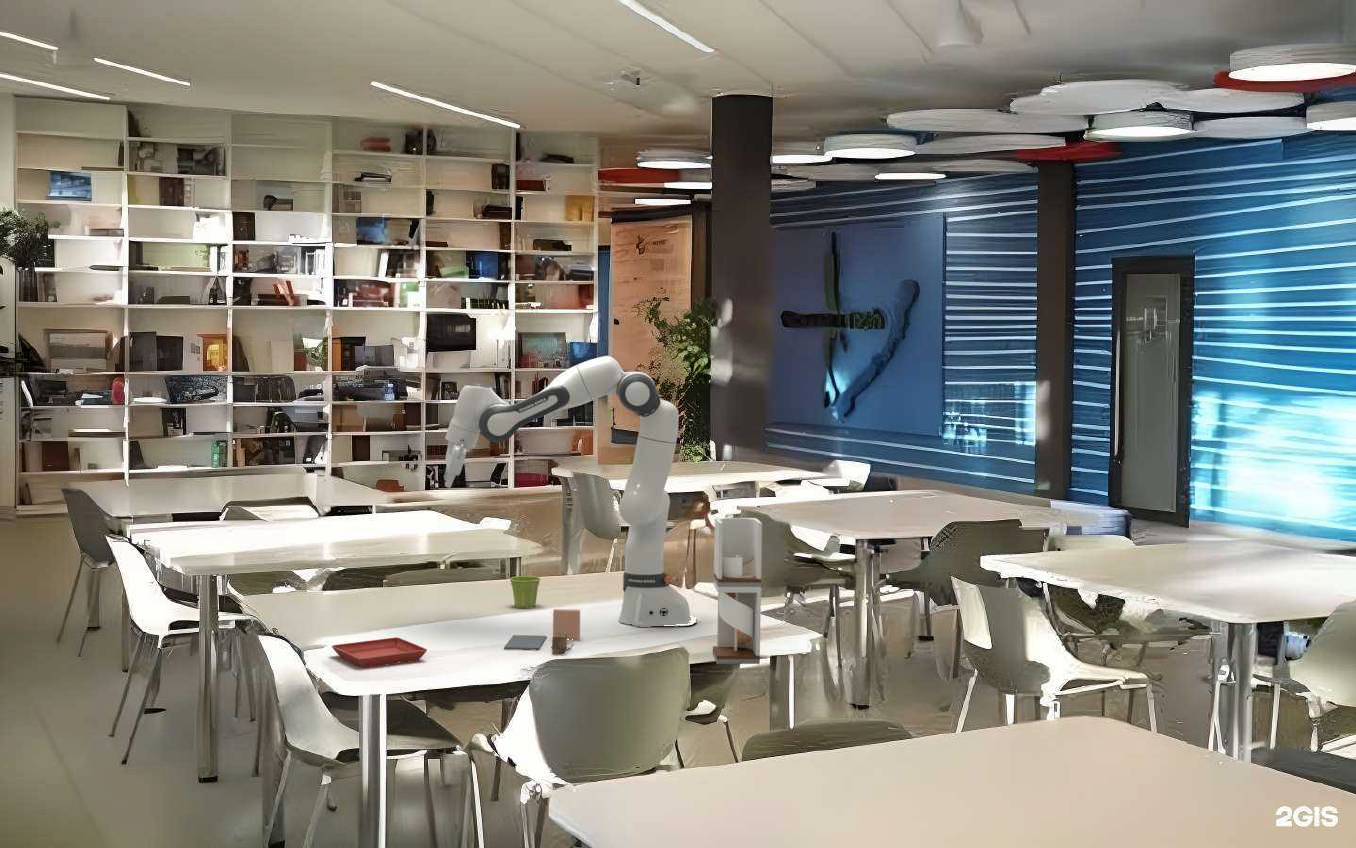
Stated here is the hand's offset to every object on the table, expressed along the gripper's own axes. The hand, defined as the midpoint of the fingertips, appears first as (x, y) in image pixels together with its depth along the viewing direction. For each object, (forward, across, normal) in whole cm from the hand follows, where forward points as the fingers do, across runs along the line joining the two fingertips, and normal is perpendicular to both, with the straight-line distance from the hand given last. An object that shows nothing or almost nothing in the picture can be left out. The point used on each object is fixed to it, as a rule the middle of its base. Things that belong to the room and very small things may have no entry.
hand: (447, 483), depth 390 cm
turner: (+25, -47, -37) cm, 65 cm away
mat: (+28, -39, -29) cm, 56 cm away
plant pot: (+33, +16, -35) cm, 50 cm away
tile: (+25, -35, -40) cm, 59 cm away
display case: (+11, -64, -77) cm, 101 cm away
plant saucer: (+38, -53, +7) cm, 65 cm away
